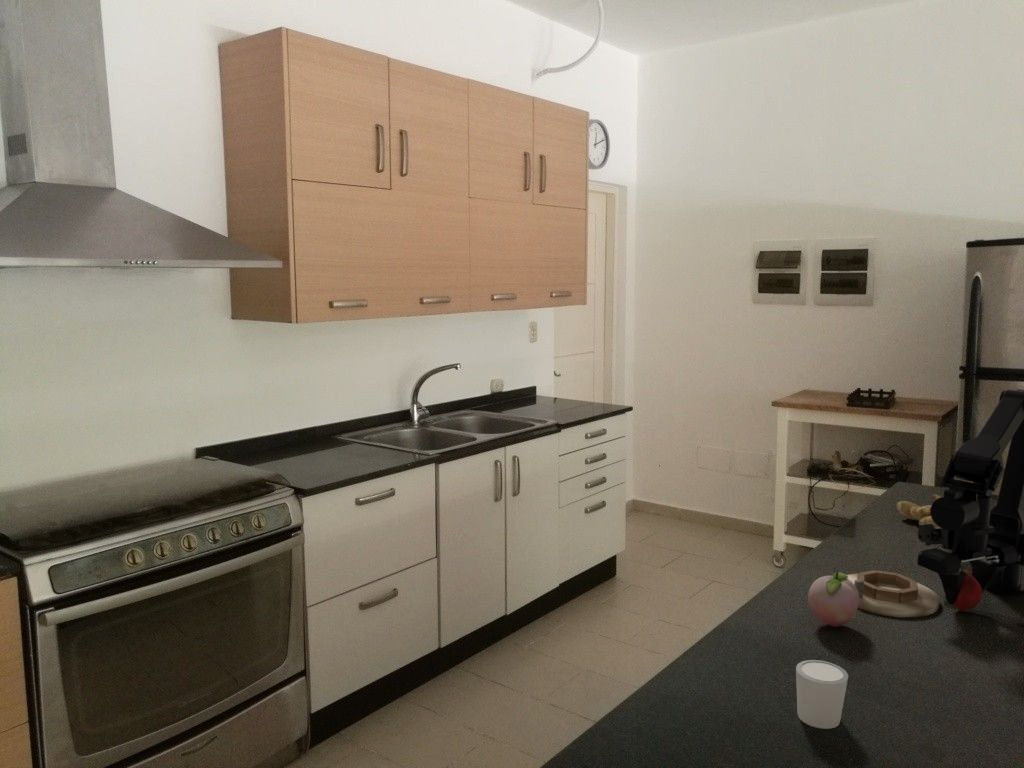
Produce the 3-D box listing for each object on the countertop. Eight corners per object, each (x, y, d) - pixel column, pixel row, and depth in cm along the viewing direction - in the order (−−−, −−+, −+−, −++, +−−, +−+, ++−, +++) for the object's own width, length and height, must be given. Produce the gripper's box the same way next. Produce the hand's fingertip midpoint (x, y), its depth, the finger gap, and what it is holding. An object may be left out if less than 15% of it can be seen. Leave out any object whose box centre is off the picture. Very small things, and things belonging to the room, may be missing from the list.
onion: (984, 619, 149) (989, 577, 147) (949, 616, 150) (954, 574, 149) (973, 606, 154) (978, 565, 153) (940, 603, 155) (944, 562, 154)
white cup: (784, 705, 120) (787, 659, 119) (831, 703, 120) (834, 658, 119) (805, 732, 113) (808, 684, 112) (854, 730, 114) (858, 682, 112)
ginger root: (995, 532, 192) (989, 499, 191) (926, 547, 193) (920, 514, 192) (960, 514, 208) (955, 483, 207) (897, 528, 208) (891, 497, 207)
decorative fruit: (809, 611, 151) (813, 559, 150) (858, 620, 148) (862, 567, 146) (803, 632, 143) (806, 576, 141) (854, 642, 139) (858, 585, 138)
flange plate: (884, 573, 170) (885, 554, 169) (961, 608, 153) (963, 586, 153) (814, 586, 163) (816, 566, 162) (887, 624, 146) (889, 601, 146)
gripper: (968, 500, 160) (961, 578, 163) (896, 511, 153) (889, 592, 156) (1023, 517, 150) (1014, 599, 152) (948, 530, 143) (940, 615, 145)
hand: (963, 601), depth 152 cm, fingers closed on onion, 6 cm apart
